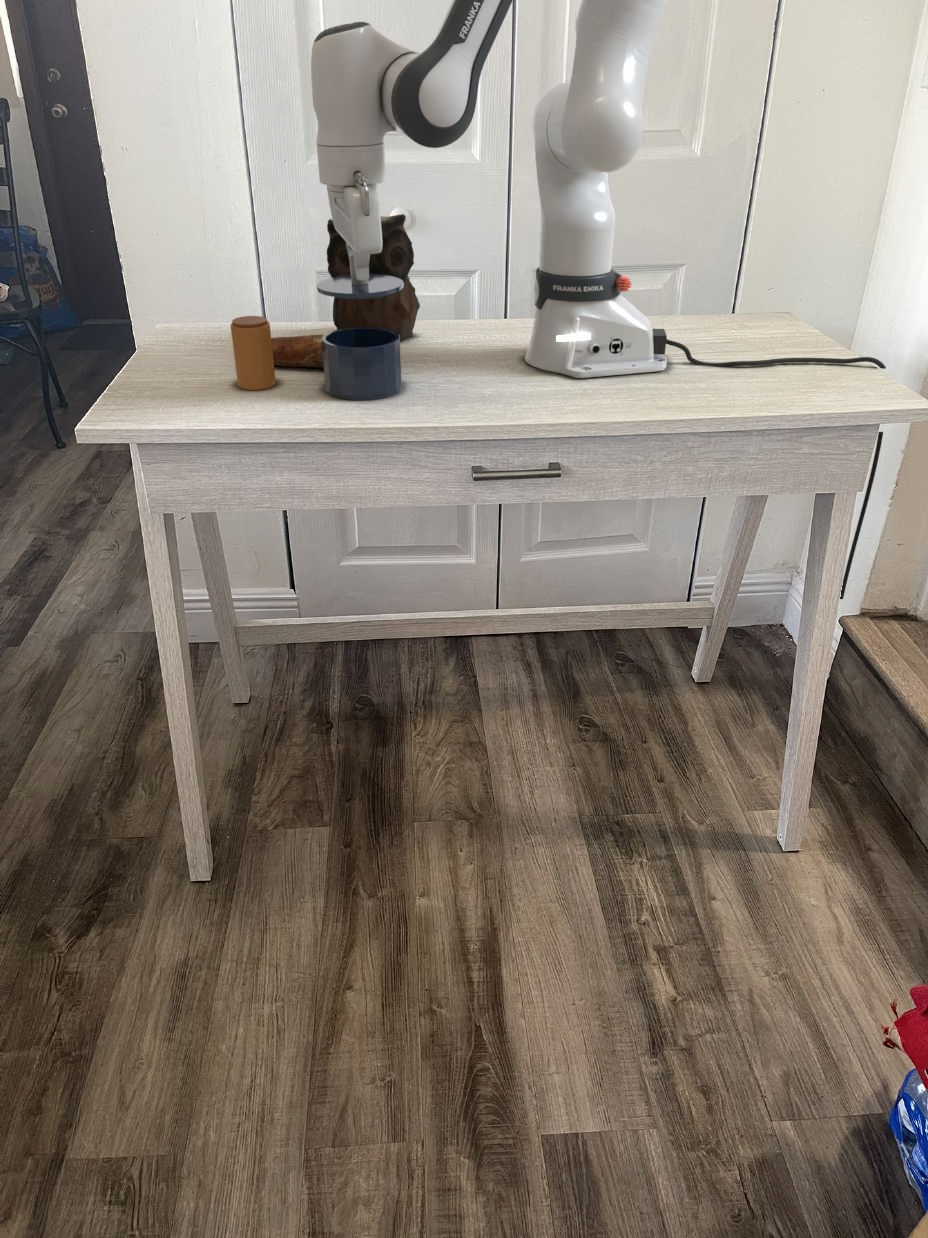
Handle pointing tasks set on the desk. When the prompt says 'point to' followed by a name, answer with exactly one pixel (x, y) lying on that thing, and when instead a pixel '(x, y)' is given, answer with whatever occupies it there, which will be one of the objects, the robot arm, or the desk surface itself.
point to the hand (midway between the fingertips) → (359, 276)
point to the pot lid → (359, 285)
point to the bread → (298, 351)
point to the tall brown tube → (253, 352)
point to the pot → (362, 363)
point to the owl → (391, 261)
